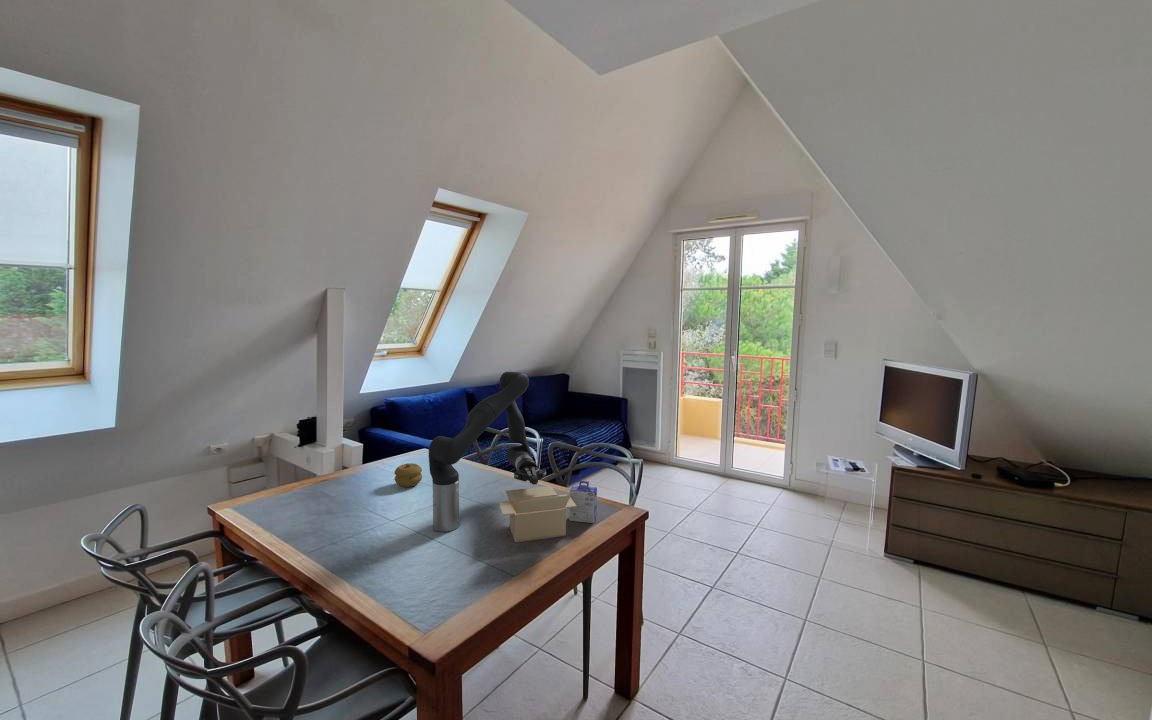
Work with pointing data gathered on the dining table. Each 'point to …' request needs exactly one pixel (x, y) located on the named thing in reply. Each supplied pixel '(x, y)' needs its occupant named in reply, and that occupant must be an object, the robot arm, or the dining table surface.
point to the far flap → (542, 504)
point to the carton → (535, 515)
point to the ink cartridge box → (583, 503)
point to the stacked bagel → (408, 475)
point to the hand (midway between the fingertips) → (534, 481)
